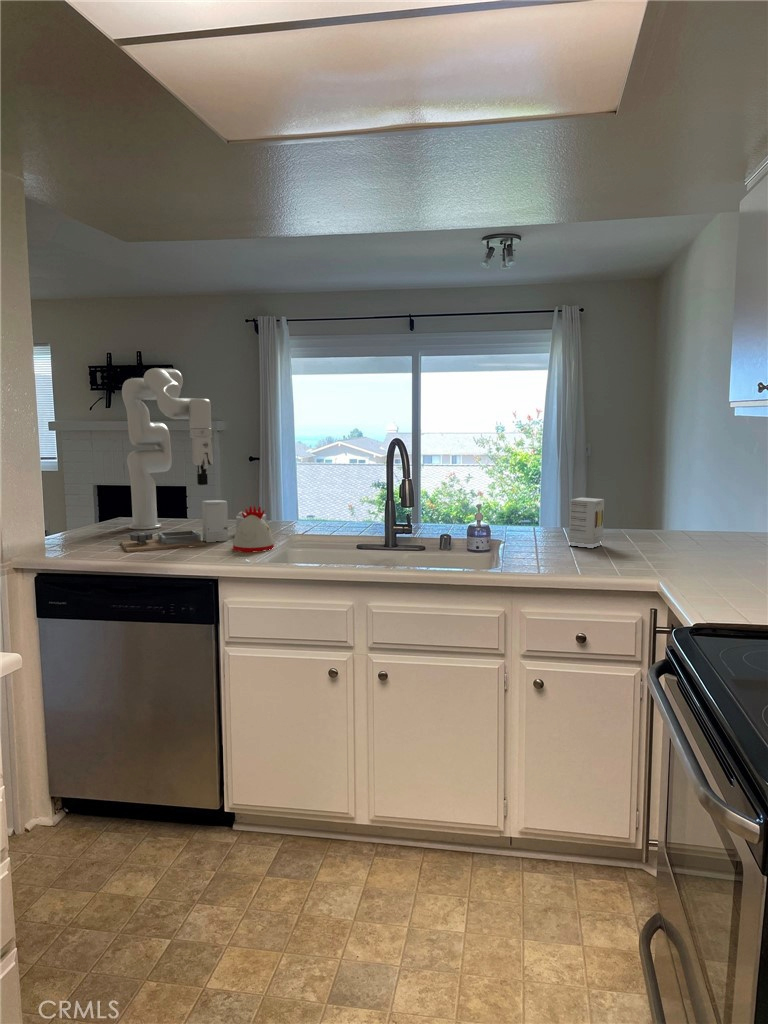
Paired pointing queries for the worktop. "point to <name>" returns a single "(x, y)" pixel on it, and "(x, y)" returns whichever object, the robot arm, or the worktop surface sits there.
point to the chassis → (165, 541)
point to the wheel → (141, 536)
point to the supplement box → (586, 520)
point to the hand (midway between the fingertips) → (202, 484)
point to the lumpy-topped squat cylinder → (240, 518)
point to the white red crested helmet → (253, 533)
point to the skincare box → (215, 520)
